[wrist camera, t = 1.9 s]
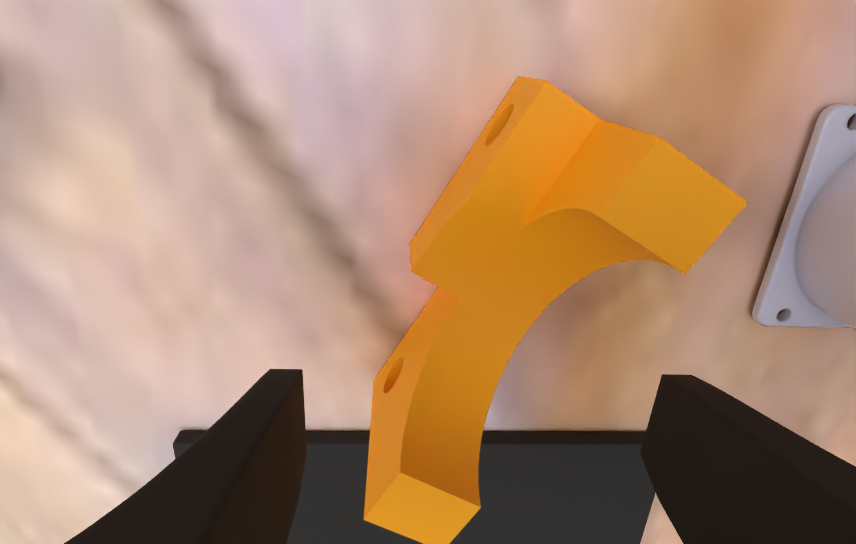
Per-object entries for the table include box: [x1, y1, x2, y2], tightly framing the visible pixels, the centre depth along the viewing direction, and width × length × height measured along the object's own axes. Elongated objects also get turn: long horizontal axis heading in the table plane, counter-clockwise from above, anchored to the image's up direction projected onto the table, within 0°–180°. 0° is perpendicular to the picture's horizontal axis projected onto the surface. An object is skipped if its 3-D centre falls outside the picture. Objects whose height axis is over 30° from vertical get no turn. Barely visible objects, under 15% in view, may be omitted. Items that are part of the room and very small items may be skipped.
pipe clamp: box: [364, 76, 748, 544], centre depth 15 cm, size 12×4×6 cm, turn 148°
